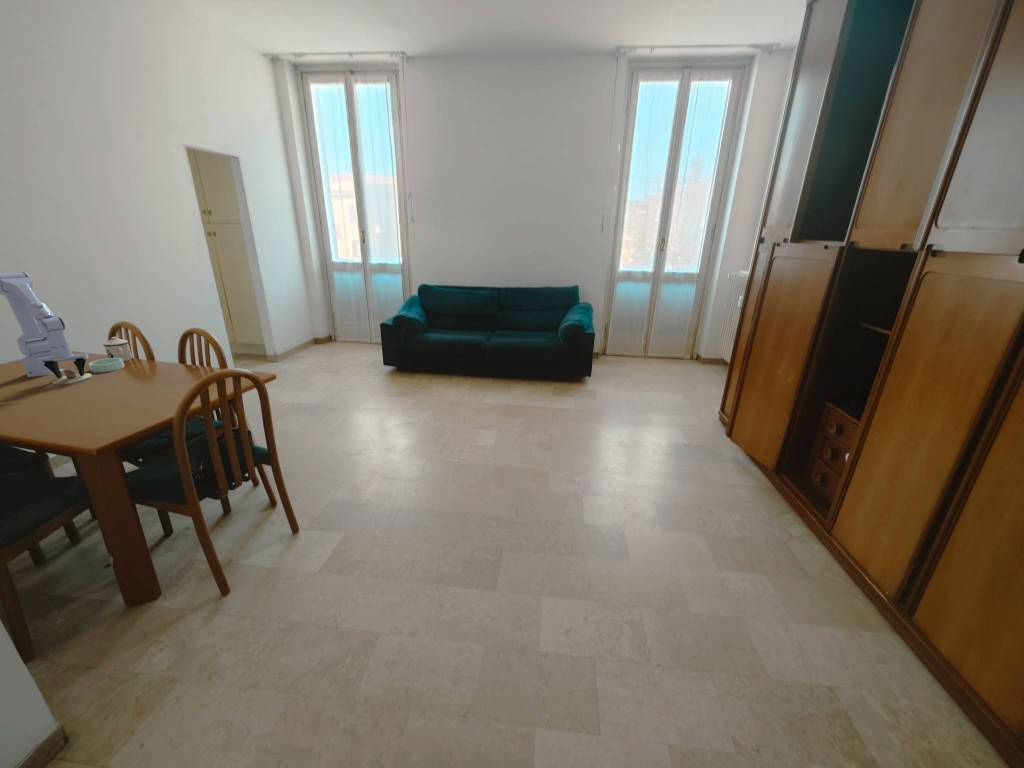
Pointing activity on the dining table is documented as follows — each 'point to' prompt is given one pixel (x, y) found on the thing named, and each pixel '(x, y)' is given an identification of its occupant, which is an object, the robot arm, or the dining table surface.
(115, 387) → the dining table surface
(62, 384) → the mat
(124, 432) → the dining table surface
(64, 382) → the lid
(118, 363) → the bowl
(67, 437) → the dining table surface
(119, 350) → the teacup with lid
